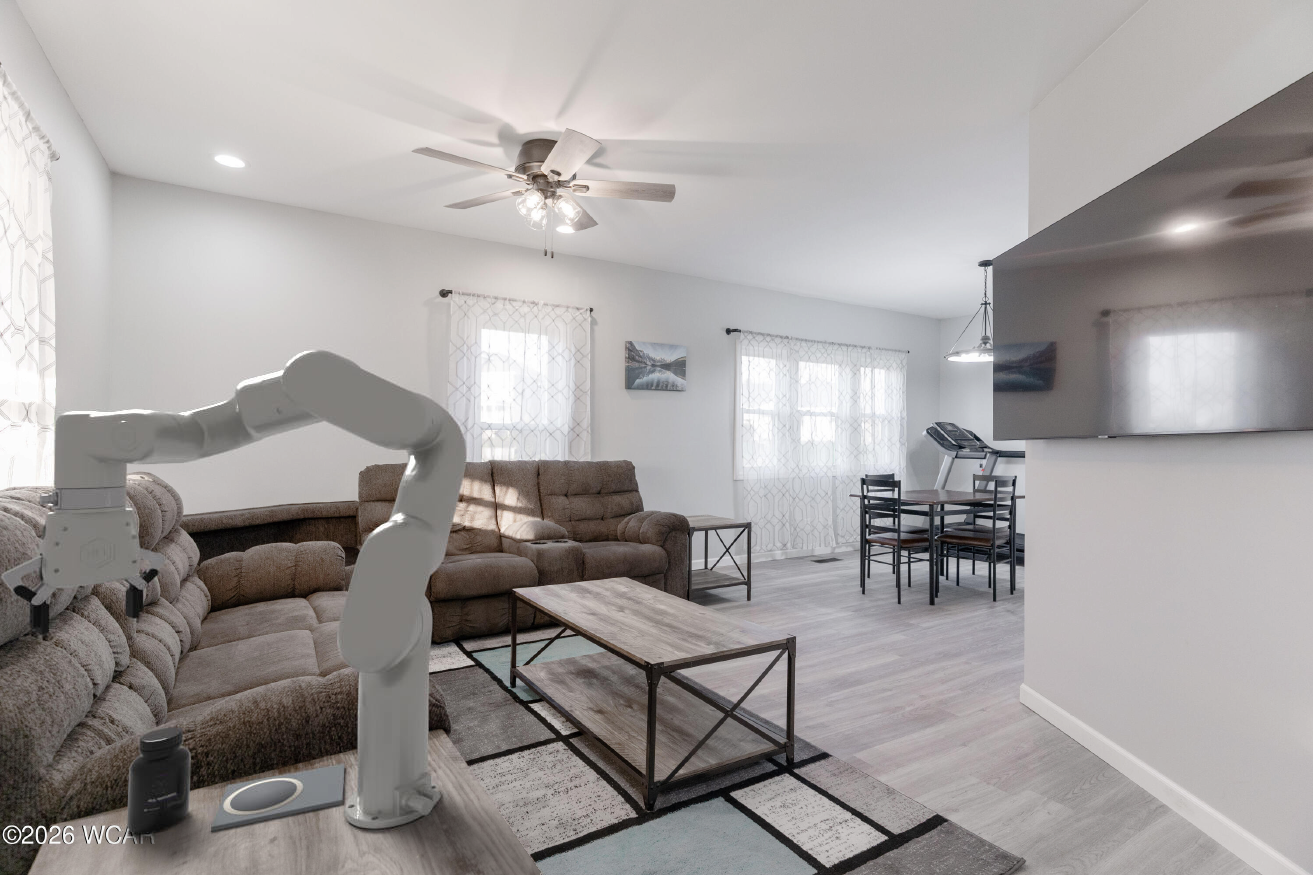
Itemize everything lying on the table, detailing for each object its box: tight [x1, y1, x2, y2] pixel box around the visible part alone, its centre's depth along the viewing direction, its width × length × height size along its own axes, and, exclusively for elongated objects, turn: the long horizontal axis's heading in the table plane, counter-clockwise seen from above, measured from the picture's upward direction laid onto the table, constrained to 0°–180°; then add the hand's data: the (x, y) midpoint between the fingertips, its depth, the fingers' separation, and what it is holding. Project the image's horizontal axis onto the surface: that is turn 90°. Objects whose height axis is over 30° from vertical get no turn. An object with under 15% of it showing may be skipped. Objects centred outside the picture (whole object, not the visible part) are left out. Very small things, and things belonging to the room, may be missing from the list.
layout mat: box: [210, 763, 345, 832], centre depth 95 cm, size 16×12×1 cm
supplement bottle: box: [126, 727, 192, 835], centre depth 89 cm, size 7×7×12 cm
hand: (89, 624), depth 88 cm, fingers open, 9 cm apart
